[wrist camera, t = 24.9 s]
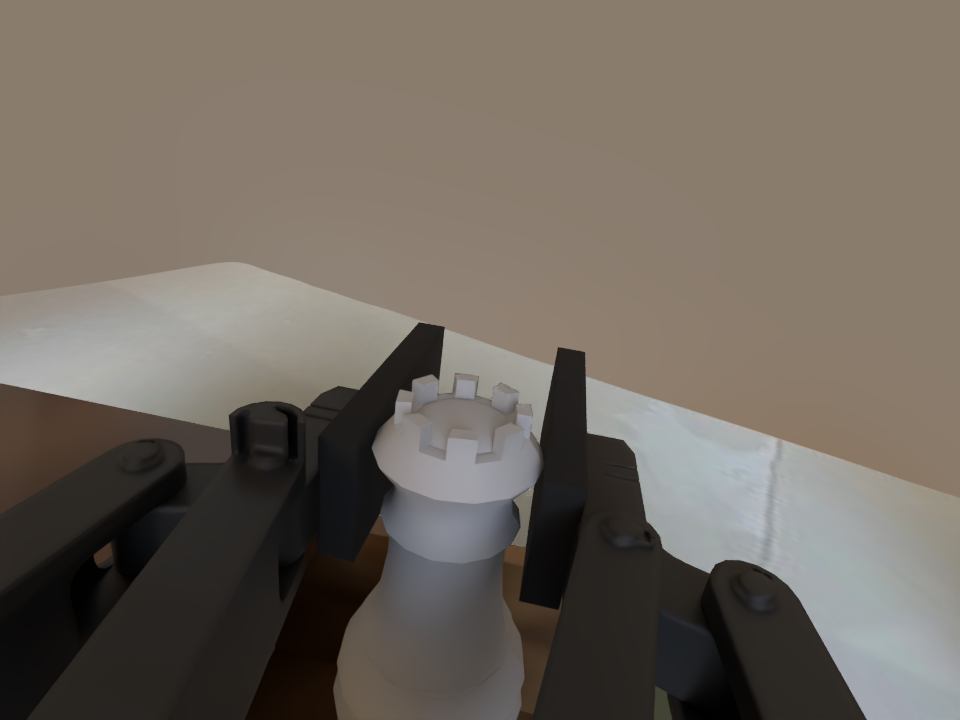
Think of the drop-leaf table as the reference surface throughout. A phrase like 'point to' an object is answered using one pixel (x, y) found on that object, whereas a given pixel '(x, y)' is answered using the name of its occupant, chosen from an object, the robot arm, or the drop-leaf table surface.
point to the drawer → (331, 604)
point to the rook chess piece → (443, 561)
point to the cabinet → (84, 442)
